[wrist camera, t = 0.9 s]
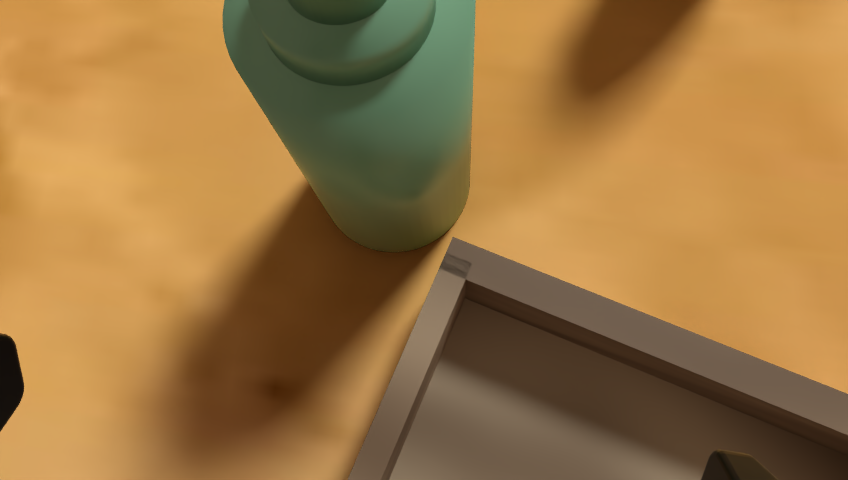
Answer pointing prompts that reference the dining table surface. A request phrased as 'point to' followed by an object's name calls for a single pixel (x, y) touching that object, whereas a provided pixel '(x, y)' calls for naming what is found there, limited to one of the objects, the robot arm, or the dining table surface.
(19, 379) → the robot arm
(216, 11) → the dining table surface
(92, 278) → the dining table surface
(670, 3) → the dining table surface
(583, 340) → the u rest
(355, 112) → the bottle
